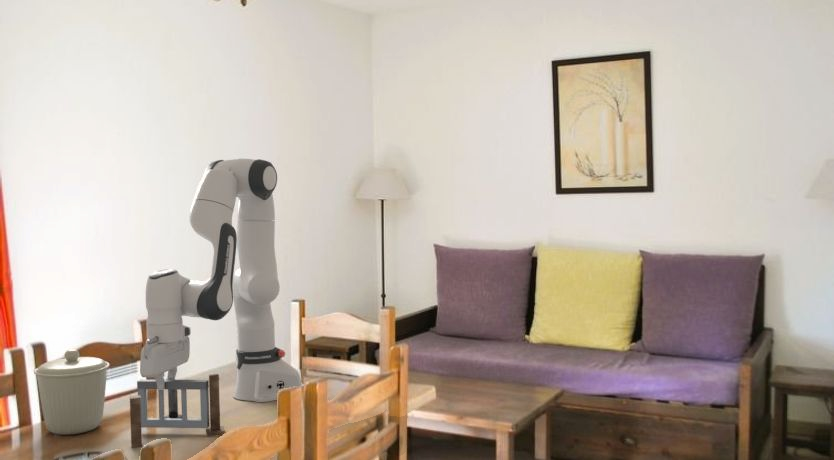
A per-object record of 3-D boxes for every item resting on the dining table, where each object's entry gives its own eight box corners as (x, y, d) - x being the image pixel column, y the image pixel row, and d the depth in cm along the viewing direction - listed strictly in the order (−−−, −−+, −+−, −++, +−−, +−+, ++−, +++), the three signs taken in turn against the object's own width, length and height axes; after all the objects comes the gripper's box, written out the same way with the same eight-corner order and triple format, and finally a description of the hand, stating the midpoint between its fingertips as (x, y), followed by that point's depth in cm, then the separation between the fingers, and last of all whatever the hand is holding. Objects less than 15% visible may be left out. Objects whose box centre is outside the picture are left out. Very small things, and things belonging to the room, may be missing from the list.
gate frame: (223, 429, 204) (221, 372, 204) (226, 436, 199) (224, 377, 198) (131, 440, 197) (129, 380, 196) (131, 447, 191) (129, 386, 190)
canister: (34, 444, 195) (31, 359, 194) (37, 424, 211) (34, 346, 210) (113, 434, 202) (110, 352, 201) (110, 416, 218) (107, 340, 217)
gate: (209, 426, 203) (208, 379, 202) (207, 428, 201) (205, 381, 200) (141, 425, 204) (140, 379, 203) (138, 427, 202) (137, 381, 201)
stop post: (182, 416, 217) (181, 384, 217) (183, 421, 212) (182, 388, 212) (163, 418, 215) (162, 385, 215) (164, 423, 211) (163, 390, 210)
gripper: (156, 341, 191) (158, 397, 192) (193, 327, 212) (194, 378, 212) (132, 340, 192) (134, 397, 193) (171, 327, 213) (172, 378, 213)
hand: (166, 387), depth 203 cm, fingers open, 3 cm apart
